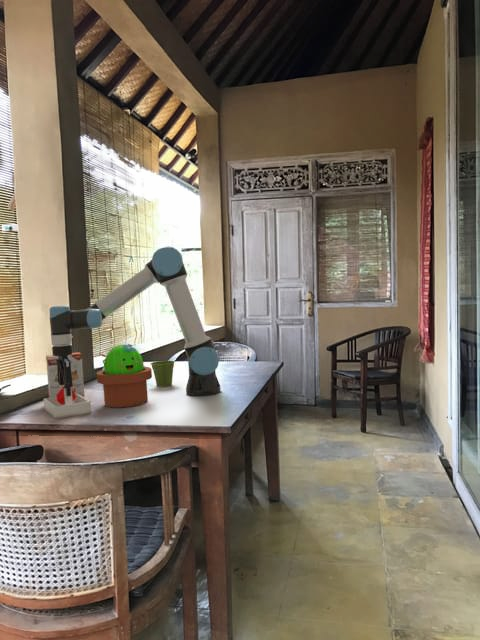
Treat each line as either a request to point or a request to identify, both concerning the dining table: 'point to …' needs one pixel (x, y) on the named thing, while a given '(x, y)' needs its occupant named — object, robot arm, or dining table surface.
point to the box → (67, 407)
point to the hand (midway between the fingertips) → (66, 402)
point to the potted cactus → (124, 377)
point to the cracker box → (75, 371)
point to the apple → (61, 396)
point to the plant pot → (163, 372)
